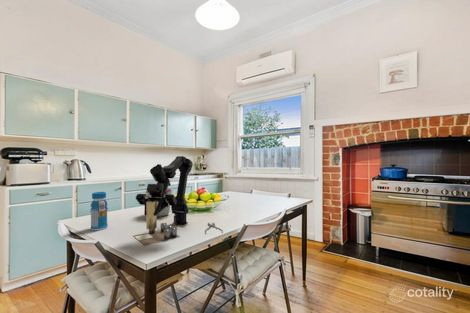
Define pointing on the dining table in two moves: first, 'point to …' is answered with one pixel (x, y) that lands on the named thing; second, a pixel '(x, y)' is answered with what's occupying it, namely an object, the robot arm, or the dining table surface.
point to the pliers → (212, 226)
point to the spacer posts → (166, 231)
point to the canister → (165, 210)
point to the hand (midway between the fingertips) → (149, 215)
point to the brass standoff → (151, 215)
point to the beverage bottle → (99, 211)
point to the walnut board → (151, 237)
